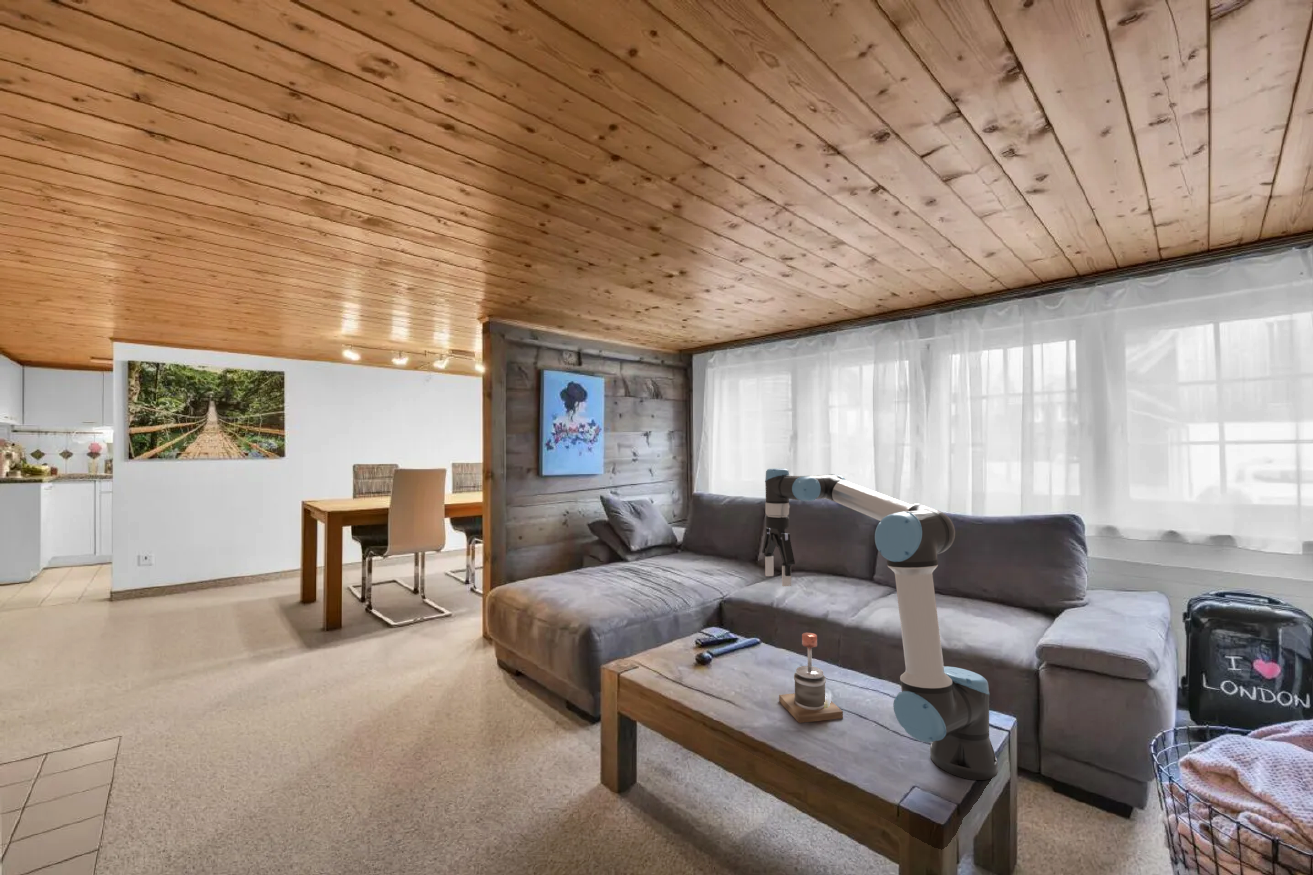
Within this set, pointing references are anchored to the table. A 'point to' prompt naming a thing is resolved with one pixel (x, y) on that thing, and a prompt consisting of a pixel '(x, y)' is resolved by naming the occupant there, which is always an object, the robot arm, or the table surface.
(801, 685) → the stand
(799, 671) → the plunger
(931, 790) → the table surface
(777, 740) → the table surface
